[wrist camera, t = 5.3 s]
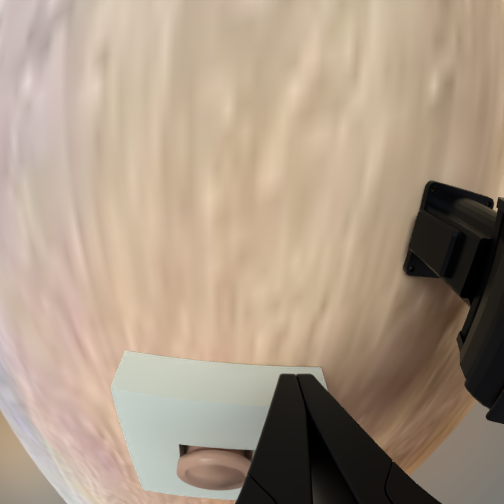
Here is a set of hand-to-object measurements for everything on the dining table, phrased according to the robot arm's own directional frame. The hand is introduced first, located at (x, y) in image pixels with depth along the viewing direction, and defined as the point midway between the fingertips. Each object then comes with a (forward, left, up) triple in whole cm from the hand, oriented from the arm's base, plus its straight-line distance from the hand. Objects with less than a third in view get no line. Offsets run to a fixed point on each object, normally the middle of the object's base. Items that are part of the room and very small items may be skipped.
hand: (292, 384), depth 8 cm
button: (+1, +20, -11) cm, 22 cm away
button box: (+1, +20, -12) cm, 23 cm away
